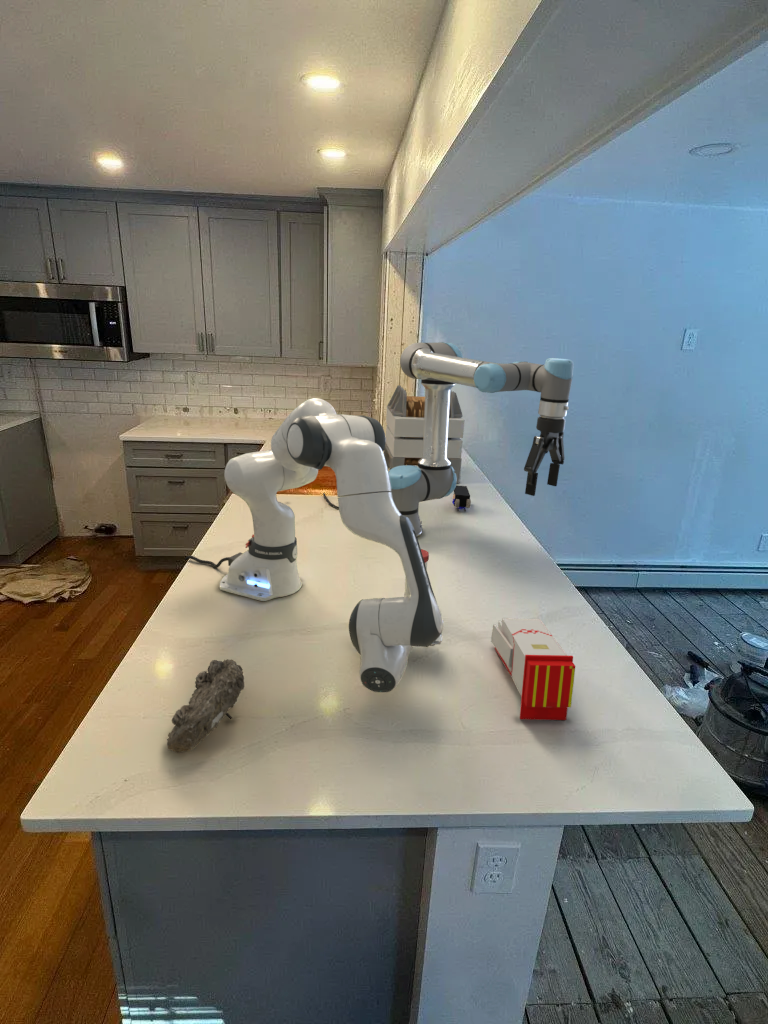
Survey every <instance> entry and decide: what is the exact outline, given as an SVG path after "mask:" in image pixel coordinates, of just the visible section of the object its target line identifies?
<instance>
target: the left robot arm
mask: <svg viewBox="0 0 768 1024" xmlns="http://www.w3.org/2000/svg"><path fill="white" fill-rule="evenodd" d="M385 442H386V431H385V430H384V427H383V425H382V424H381V422H380V421H378V419H375V418H374V417H370V416H366V415H361V414H360V415H353V414H342V413H337V411H336V409H335V407H334V406H333V405H332V404H331V403H330V402H328V401H327V400H325V399H323V398H319V397H312V398H308V399H306V400H305V401H302V403H300V404H299V405H297V406H296V407H294V409H293V410H292V411H291V412H290V413H289V414H288V415H287V416H286V418H285V419H284V420H283V421H282V423H281V424H280V426H279V427H278V428H277V430H276V431H275V432H274V433H273V434H272V436H271V439H270V448H271V449H268V450H260V451H253V452H246V453H243V454H240V455H238V456H235V457H233V458H230V459H229V460H228V461H227V463H226V465H225V467H224V472H223V473H224V474H223V475H224V481H225V484H226V486H227V488H228V489H229V490H230V491H231V492H232V494H234V495H236V496H238V497H239V498H240V499H242V500H243V501H244V502H245V503H246V505H247V507H248V508H249V510H250V513H251V518H252V519H251V520H252V527H253V534H252V535H251V538H249V539H248V540H247V542H246V543H245V549H247V548H248V549H247V550H246V551H244V552H237V553H236V554H233V555H231V556H227V557H223V558H221V559H220V560H219V561H218V562H217V564H216V563H214V562H213V561H210V560H203V559H200V558H198V557H196V556H194V555H187V556H186V557H185V558H184V560H185V561H187V560H190V559H191V560H193V561H195V562H197V563H200V564H205V565H209V566H212V567H213V568H214V569H215V568H216V569H218V568H219V567H221V565H223V562H228V563H227V564H228V565H227V566H229V567H228V570H227V573H226V574H225V575H224V576H223V577H222V578H221V579H220V581H219V590H220V591H223V592H227V593H230V594H233V595H234V594H235V595H238V596H241V597H246V598H249V599H253V600H256V601H261V602H267V601H270V600H272V599H277V598H281V597H287V596H290V595H293V594H295V593H297V592H298V591H299V590H300V589H301V587H302V584H303V583H302V580H301V577H300V573H299V569H298V562H297V558H298V540H297V537H296V514H295V512H294V510H293V509H292V507H290V506H289V505H288V504H286V503H283V502H281V501H278V497H277V494H278V492H282V491H288V490H293V489H298V488H301V487H304V486H306V485H308V484H311V483H313V482H314V481H315V480H316V479H317V477H318V474H319V470H320V471H321V470H322V469H323V468H324V467H328V468H330V469H332V471H333V472H334V475H335V479H336V480H335V481H336V494H337V495H336V496H337V504H338V505H337V506H338V507H339V509H338V512H339V515H340V520H341V522H342V524H343V525H344V526H345V528H346V529H347V530H348V531H349V532H351V534H353V535H355V536H357V537H359V538H361V539H364V540H367V541H371V542H374V543H378V544H381V545H384V546H386V547H388V548H390V549H392V550H393V551H394V552H395V553H396V554H397V556H398V557H399V559H400V563H401V565H402V569H403V572H404V577H405V576H406V580H407V583H408V587H409V590H410V595H409V596H407V597H404V596H395V597H376V598H375V597H373V598H365V599H364V598H363V599H361V600H360V601H358V602H357V603H356V604H355V606H354V608H353V609H352V611H351V614H350V617H349V621H348V633H349V638H350V641H351V643H352V646H353V647H354V649H355V650H356V652H357V653H358V655H359V656H360V667H359V679H360V682H361V684H362V686H364V688H366V689H368V690H369V691H370V692H373V693H381V694H383V693H390V692H392V691H393V690H395V689H396V688H397V687H398V685H399V684H400V682H401V680H402V678H403V676H404V673H405V671H406V669H407V666H408V661H409V660H408V659H409V657H410V655H411V653H412V652H411V651H412V649H413V647H421V648H422V647H423V648H428V647H434V646H436V645H441V644H442V642H443V633H444V626H445V621H444V619H443V616H442V612H441V609H440V607H439V605H438V601H437V599H436V596H435V592H434V590H433V587H432V584H431V580H430V577H429V573H428V568H427V569H426V566H425V562H424V559H423V555H422V552H421V549H422V548H421V545H420V542H419V540H418V539H419V538H417V536H416V533H415V530H414V527H413V525H412V523H411V521H410V520H409V518H408V517H406V516H404V515H401V513H400V512H399V511H398V509H397V508H396V506H395V504H394V501H393V498H392V492H391V483H390V477H389V469H388V468H389V467H387V464H386V460H385V457H384V448H385Z"/></svg>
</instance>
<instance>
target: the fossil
mask: <svg viewBox="0 0 768 1024" xmlns="http://www.w3.org/2000/svg"><path fill="white" fill-rule="evenodd" d="M243 670H244V669H243V667H242V665H240V664H237V662H236V661H235V660H234V659H232V658H231V659H227V658H226V659H224V660H223V661H222V660H217V659H212V660H211V661H210V663H209V665H208V666H207V671H201V672H199V673H198V674H197V675H196V676H195V680H194V684H195V685H194V687H195V689H194V690H193V693H192V694H191V697H190V698H189V700H188V704H184V705H182V706H181V707H180V709H177V710H176V711H175V713H174V715H173V716H172V718H171V723H172V724H173V727H172V730H171V731H170V732H168V734H167V738H166V741H167V742H166V745H167V749H168V750H169V751H173V752H174V753H176V754H178V753H182V752H188V751H189V752H192V751H193V750H195V748H196V747H197V746H199V744H200V743H201V742H203V741H204V740H205V739H206V738H207V737H208V736H209V735H210V734H211V733H212V732H214V730H215V729H217V727H218V726H219V724H220V722H221V721H222V720H223V719H224V718H225V716H226V717H227V719H229V720H233V717H232V715H230V714H229V710H230V709H231V708H234V706H235V704H236V703H237V702H238V699H239V697H240V695H241V693H242V691H243V690H245V689H244V688H245V675H244V671H243Z"/></svg>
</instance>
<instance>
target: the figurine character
mask: <svg viewBox="0 0 768 1024" xmlns="http://www.w3.org/2000/svg"><path fill="white" fill-rule="evenodd" d="M471 501H472V500H471V494H470V491H469V488H468V486H467V485H457V484H456V487H455V489H454V491H453V494H452V501H451V503H452V504H453V507H454V508H456V511H457V512H460V510H463V511H464V513H466V512H467V509H470V508H471V505H472V504H471ZM466 508H467V509H466Z"/></svg>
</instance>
